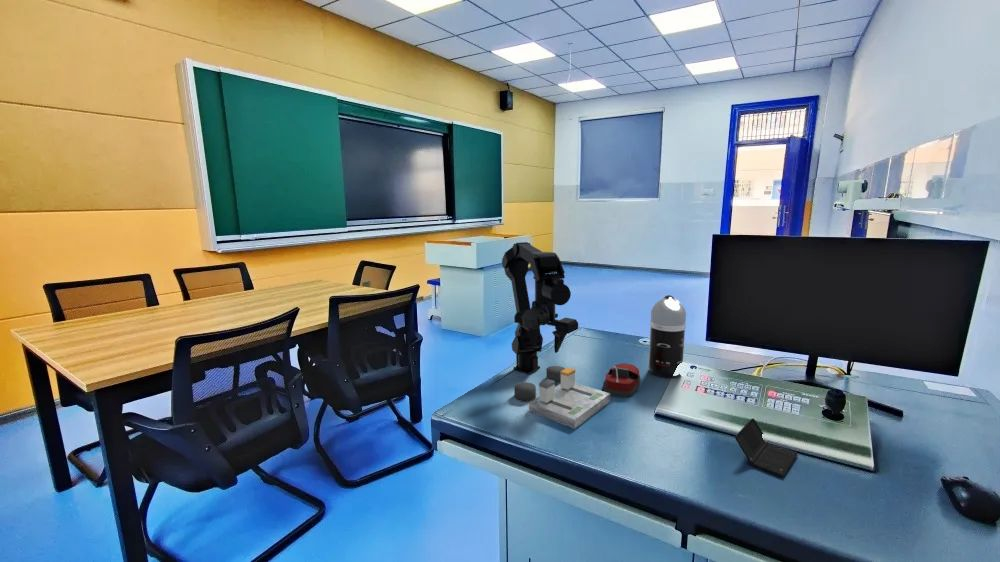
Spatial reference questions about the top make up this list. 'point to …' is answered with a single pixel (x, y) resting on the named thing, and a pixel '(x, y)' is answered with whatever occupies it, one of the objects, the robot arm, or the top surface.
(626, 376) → the bumper car
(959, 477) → the top surface
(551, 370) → the coil
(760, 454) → the handheld gaming console
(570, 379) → the switch
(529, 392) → the coil
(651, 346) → the spray bottle
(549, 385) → the switch
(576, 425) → the panel
